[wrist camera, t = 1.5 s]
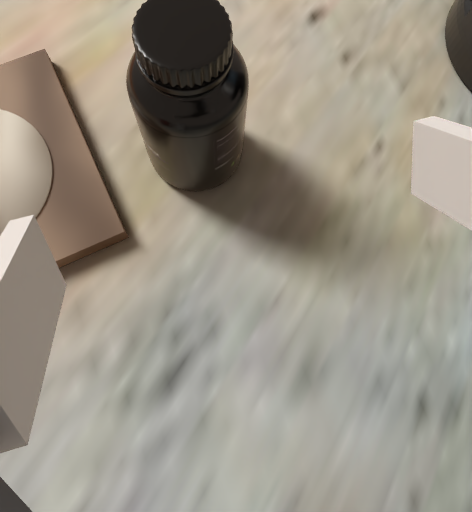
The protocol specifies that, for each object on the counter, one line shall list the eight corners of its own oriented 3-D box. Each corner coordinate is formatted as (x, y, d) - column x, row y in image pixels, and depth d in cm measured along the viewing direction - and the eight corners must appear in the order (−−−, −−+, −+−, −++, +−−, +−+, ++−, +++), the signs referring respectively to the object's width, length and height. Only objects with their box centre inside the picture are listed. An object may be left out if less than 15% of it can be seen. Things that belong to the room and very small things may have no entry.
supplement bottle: (132, 170, 31) (78, 51, 20) (177, 98, 33) (151, -51, 21) (217, 210, 30) (212, 111, 19) (258, 134, 32) (277, 0, 21)
